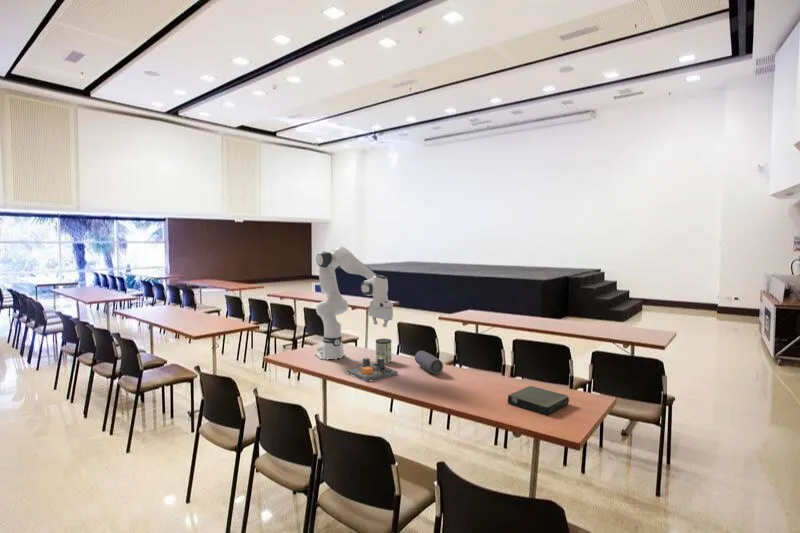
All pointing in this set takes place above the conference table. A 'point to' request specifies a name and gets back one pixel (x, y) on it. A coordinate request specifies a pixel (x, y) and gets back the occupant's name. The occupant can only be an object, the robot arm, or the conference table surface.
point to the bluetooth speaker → (428, 362)
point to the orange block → (367, 370)
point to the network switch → (538, 400)
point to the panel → (377, 372)
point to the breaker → (380, 362)
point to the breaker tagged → (366, 362)
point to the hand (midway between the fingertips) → (380, 325)
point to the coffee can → (383, 350)
